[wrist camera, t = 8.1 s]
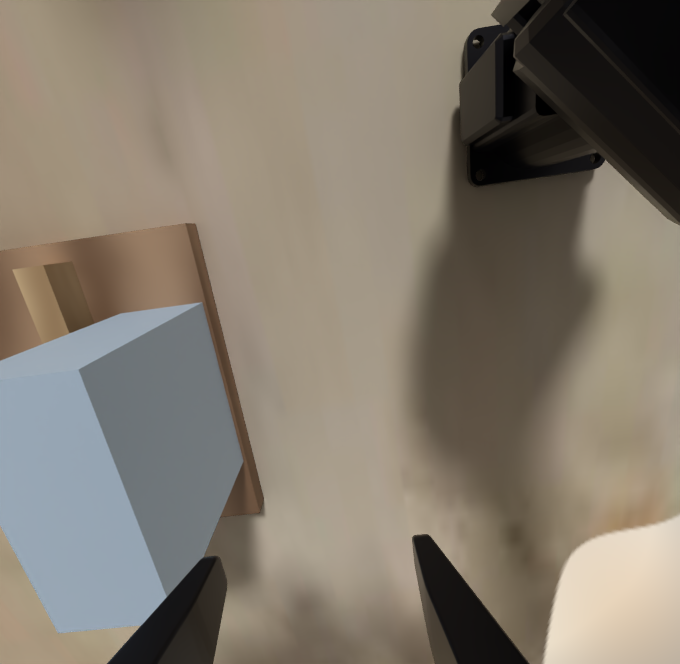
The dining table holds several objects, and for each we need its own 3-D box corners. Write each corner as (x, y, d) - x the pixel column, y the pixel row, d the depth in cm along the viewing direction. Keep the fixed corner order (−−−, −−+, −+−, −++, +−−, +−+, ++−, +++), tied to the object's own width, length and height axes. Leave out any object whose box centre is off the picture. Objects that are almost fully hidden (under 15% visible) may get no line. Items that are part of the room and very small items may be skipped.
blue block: (202, 302, 18) (78, 369, 10) (243, 460, 21) (176, 622, 13) (120, 313, 18) (-73, 389, 10) (172, 469, 21) (58, 633, 13)
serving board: (195, 223, 18) (168, 223, 15) (263, 498, 23) (253, 536, 21) (-28, 256, 19) (-95, 262, 16) (87, 518, 24) (52, 558, 21)
